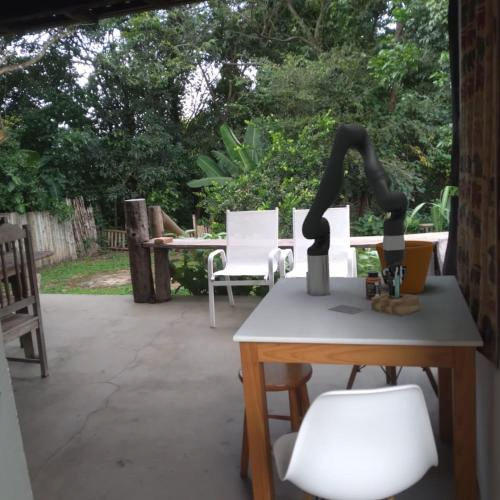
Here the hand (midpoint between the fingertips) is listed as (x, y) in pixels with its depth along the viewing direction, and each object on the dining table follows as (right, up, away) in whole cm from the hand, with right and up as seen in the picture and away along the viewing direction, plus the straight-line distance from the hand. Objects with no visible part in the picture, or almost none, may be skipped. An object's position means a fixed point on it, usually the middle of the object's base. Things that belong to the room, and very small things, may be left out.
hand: (394, 294), depth 176 cm
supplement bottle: (-3, -4, +19) cm, 20 cm away
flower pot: (+14, -1, +33) cm, 36 cm away
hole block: (0, -6, +1) cm, 6 cm away
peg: (0, -3, 0) cm, 3 cm away
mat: (-16, -6, +5) cm, 18 cm away
